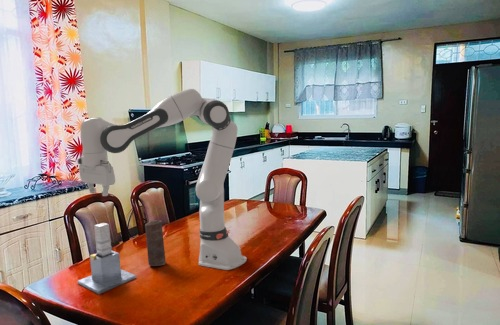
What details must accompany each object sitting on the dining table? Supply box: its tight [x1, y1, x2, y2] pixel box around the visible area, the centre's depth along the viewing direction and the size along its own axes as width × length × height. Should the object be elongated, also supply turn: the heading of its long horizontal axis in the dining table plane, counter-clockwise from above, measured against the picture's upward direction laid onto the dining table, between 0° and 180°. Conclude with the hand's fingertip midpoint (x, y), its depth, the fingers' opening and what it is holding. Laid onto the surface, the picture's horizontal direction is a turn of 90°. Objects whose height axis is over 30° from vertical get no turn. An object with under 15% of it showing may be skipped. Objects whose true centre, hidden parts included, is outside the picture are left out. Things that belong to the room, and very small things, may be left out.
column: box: [93, 222, 113, 258], centre depth 140 cm, size 4×4×22 cm
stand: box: [77, 249, 137, 295], centre depth 141 cm, size 16×16×12 cm
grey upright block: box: [144, 219, 167, 267], centre depth 154 cm, size 8×7×20 cm
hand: (98, 194), depth 138 cm, fingers open, 8 cm apart
